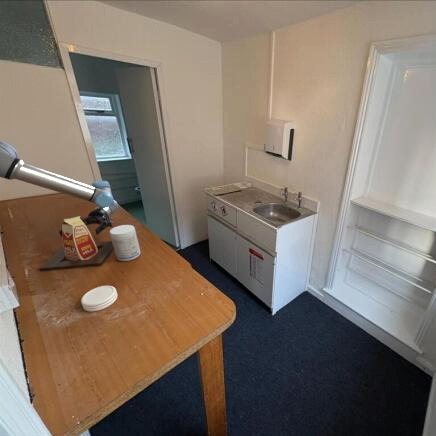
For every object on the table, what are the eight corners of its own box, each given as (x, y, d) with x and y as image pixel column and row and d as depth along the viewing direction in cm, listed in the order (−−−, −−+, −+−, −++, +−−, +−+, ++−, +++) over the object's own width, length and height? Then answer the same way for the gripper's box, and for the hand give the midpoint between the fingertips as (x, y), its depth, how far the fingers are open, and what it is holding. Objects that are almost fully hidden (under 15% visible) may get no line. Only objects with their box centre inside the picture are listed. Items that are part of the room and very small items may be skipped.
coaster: (107, 312, 81) (104, 304, 79) (76, 312, 80) (72, 304, 78) (123, 292, 90) (121, 284, 88) (96, 292, 89) (93, 284, 87)
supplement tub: (120, 252, 114) (113, 225, 107) (143, 249, 117) (136, 223, 110) (114, 263, 105) (105, 235, 99) (138, 260, 108) (131, 233, 102)
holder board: (40, 271, 97) (38, 268, 97) (67, 246, 115) (66, 244, 114) (101, 265, 103) (100, 262, 103) (118, 243, 121) (118, 240, 120)
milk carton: (82, 262, 105) (68, 222, 96) (65, 259, 106) (49, 219, 98) (101, 251, 113) (88, 214, 105) (84, 249, 114) (71, 211, 106)
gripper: (127, 219, 130) (112, 238, 112) (74, 222, 123) (48, 242, 105) (124, 207, 127) (108, 224, 109) (69, 209, 120) (42, 227, 102)
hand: (79, 233), depth 107 cm, fingers open, 13 cm apart
